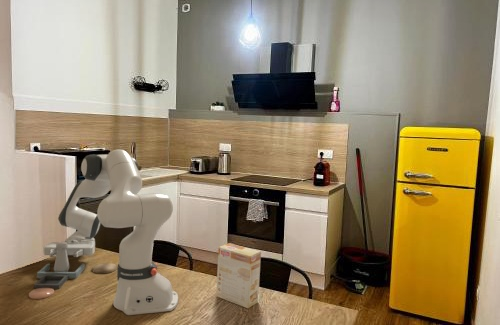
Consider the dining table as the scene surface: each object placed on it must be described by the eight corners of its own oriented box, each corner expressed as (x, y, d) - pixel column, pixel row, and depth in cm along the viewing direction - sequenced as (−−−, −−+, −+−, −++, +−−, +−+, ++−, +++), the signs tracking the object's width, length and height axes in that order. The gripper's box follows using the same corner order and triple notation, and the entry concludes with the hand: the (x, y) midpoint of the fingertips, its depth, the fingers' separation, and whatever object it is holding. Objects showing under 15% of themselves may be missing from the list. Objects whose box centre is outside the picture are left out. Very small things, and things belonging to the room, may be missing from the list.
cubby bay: (47, 268, 157) (47, 263, 156) (84, 268, 158) (84, 263, 158) (36, 278, 147) (36, 272, 147) (76, 278, 149) (76, 273, 148)
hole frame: (44, 278, 147) (44, 275, 146) (68, 278, 148) (68, 275, 148) (33, 288, 138) (33, 284, 138) (59, 288, 139) (59, 285, 139)
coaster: (57, 289, 139) (57, 287, 139) (48, 299, 131) (48, 297, 131) (35, 289, 138) (35, 287, 138) (24, 299, 130) (24, 297, 130)
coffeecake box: (258, 302, 137) (261, 251, 135) (247, 309, 131) (250, 256, 129) (226, 290, 146) (229, 242, 144) (215, 296, 140) (217, 246, 138)
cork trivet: (116, 264, 166) (116, 262, 166) (118, 272, 157) (118, 269, 157) (92, 266, 162) (92, 264, 162) (92, 274, 153) (92, 272, 153)
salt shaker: (64, 276, 150) (64, 245, 148) (50, 275, 150) (50, 244, 148) (71, 270, 155) (72, 241, 154) (58, 270, 156) (58, 240, 154)
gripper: (50, 237, 165) (36, 247, 152) (98, 238, 168) (88, 248, 154) (50, 251, 166) (36, 262, 152) (98, 251, 168) (88, 262, 155)
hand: (63, 255), depth 153 cm, fingers open, 8 cm apart
